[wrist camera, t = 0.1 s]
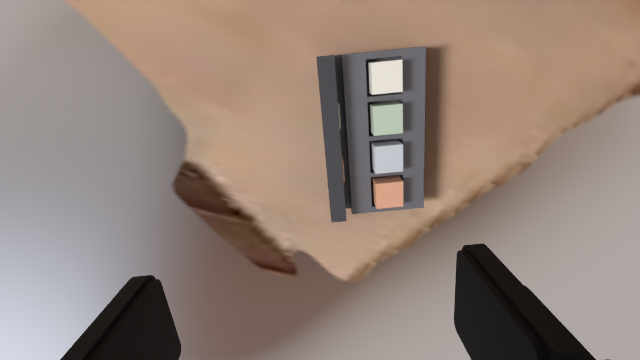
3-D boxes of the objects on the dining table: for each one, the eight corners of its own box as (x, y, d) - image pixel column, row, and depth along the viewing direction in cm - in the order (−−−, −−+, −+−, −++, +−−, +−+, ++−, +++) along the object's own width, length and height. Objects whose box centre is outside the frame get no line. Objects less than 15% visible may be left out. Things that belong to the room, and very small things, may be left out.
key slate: (371, 142, 43) (374, 146, 41) (398, 139, 43) (402, 144, 41) (372, 168, 45) (375, 173, 42) (398, 165, 44) (403, 171, 42)
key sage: (369, 104, 42) (372, 106, 39) (398, 101, 42) (402, 103, 39) (370, 132, 43) (373, 135, 41) (398, 129, 43) (402, 133, 41)
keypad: (316, 57, 42) (316, 56, 37) (417, 47, 42) (431, 45, 37) (330, 205, 49) (331, 222, 44) (416, 197, 49) (428, 213, 44)
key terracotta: (372, 177, 45) (375, 184, 43) (398, 175, 45) (403, 181, 43) (373, 201, 46) (376, 208, 44) (399, 199, 46) (403, 206, 44)
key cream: (368, 62, 40) (371, 62, 38) (397, 59, 40) (402, 59, 38) (369, 92, 41) (372, 94, 39) (397, 90, 41) (402, 91, 39)
